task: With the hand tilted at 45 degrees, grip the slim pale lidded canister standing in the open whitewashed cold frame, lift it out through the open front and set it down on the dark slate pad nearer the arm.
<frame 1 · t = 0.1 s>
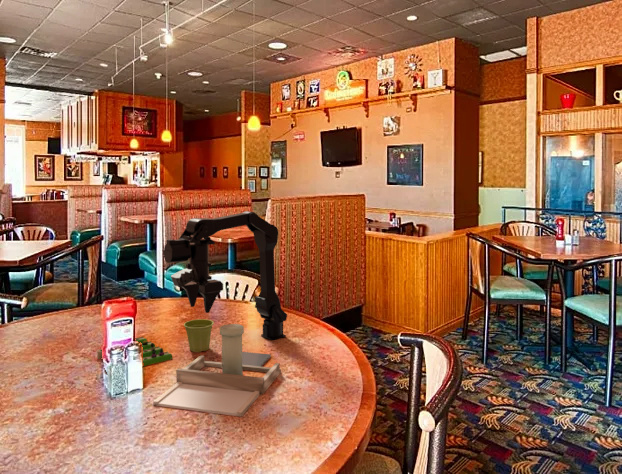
hand: (199, 309, 154), 15 cm above the table, tool pointing down, fingers open, 9 cm apart
frame lid: (207, 399, 124), on the table
toy garden set: (127, 358, 155), on the table
pale lidded canister: (232, 376, 139), resting in cold frame
cold frame: (230, 378, 138), on the table
slate pad: (247, 361, 150), on the table
plant pot: (199, 349, 161), on the table
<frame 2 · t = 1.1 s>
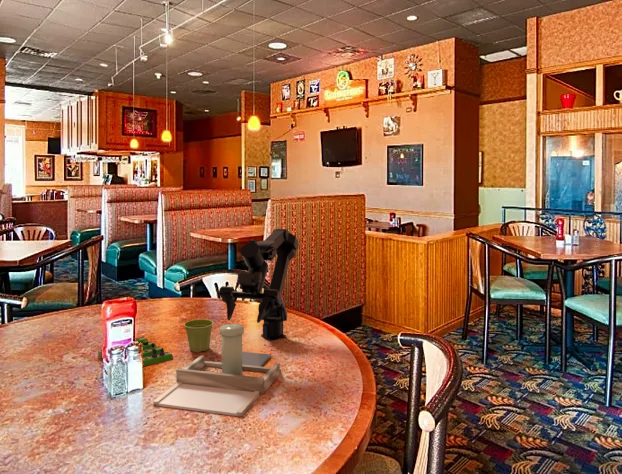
hand: (243, 321, 146), 13 cm above the table, tool tilted 45°, fingers open, 9 cm apart
nothing on the table moved.
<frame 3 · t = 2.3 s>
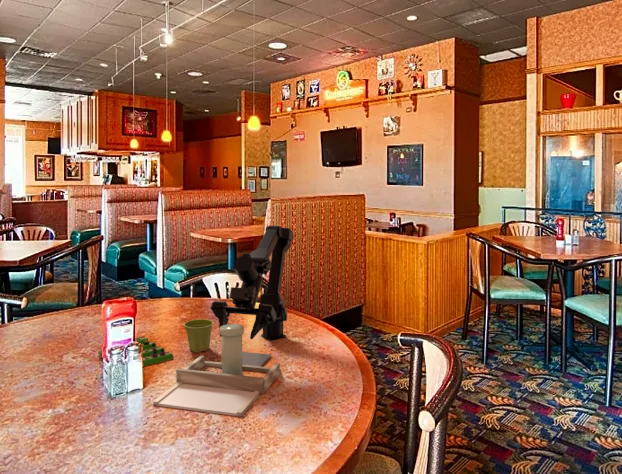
hand: (235, 337, 141), 10 cm above the table, tool tilted 45°, fingers open, 9 cm apart
nothing on the table moved.
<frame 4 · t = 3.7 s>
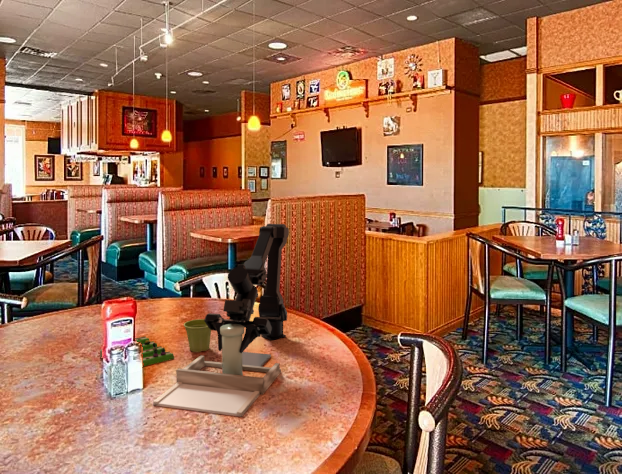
hand: (229, 351, 137), 8 cm above the table, tool tilted 45°, fingers closed on pale lidded canister, 6 cm apart
pale lidded canister: (232, 375, 139), resting in cold frame, touching gripper
everything else where it was.
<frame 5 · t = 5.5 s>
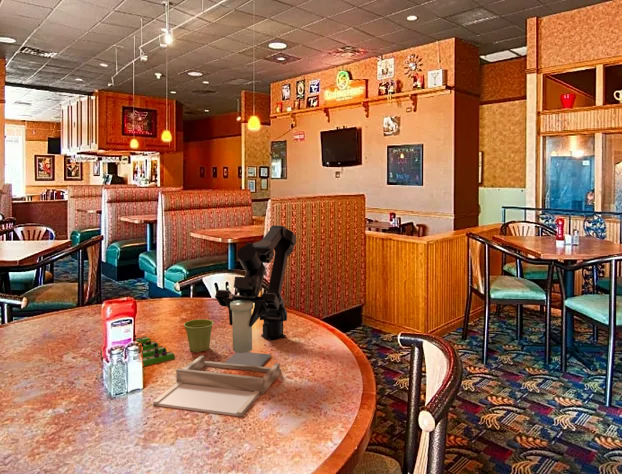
hand: (240, 325, 144), 13 cm above the table, tool tilted 45°, fingers closed on pale lidded canister, 6 cm apart
pale lidded canister: (242, 349, 146), point 5 cm above the table, touching gripper
everything else where it was.
when the fingers open (9 cm above the table, at t = 7.2 s): pale lidded canister stays where it is, resting on slate pad.
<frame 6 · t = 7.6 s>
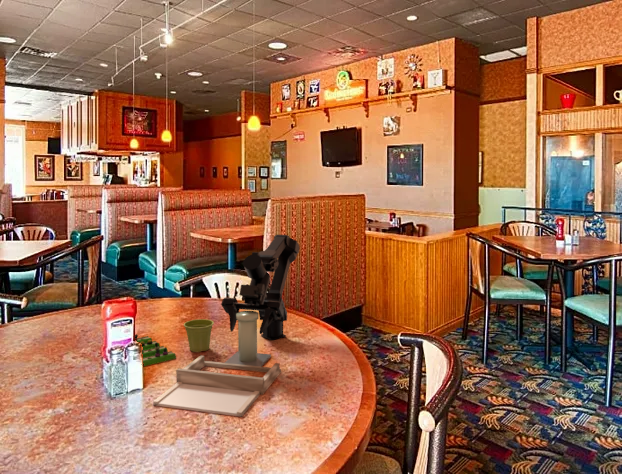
hand: (245, 332, 148), 10 cm above the table, tool tilted 45°, fingers open, 9 cm apart
pale lidded canister: (247, 358, 151), point 1 cm above the table, touching slate pad
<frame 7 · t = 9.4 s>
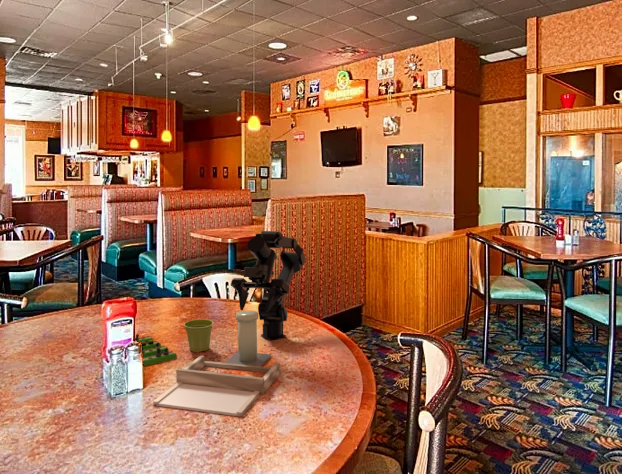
hand: (253, 310, 157), 13 cm above the table, tool tilted 35°, fingers open, 9 cm apart
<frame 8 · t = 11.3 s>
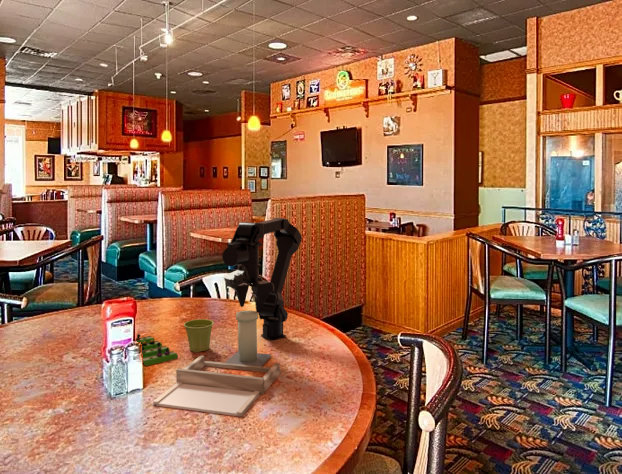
hand: (249, 309, 160), 13 cm above the table, tool pointing down, fingers open, 9 cm apart
at the end: pale lidded canister inside the target area on the slate pad (0.2 cm from its centre), point 0.8 cm above the slate pad's base; pale lidded canister tilted 1°; the gripper is holding nothing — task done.
